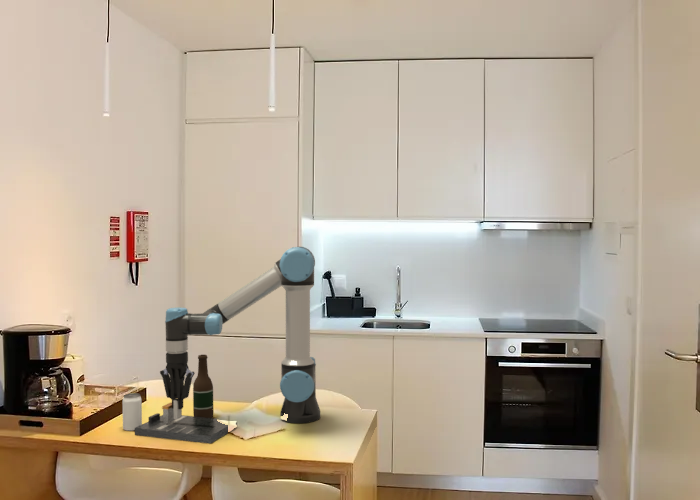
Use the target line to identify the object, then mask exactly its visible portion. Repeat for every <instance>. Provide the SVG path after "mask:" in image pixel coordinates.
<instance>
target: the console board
mask: <svg viewBox="0 0 700 500" xmlns="http://www.w3.org/2000/svg"><path fill="white" fill-rule="evenodd" d="M147 418H148V421H146V422H145V423H142V425H140V426H138V427H136V428H135V431H134V435H135V436H140V437H141V436H142V437H147V438H157V439H167V440H175V441H183V442H193V443H194V442H195V443H202V444H209V445H210V444H213V443H215V442H216V441H218V440H220V439H221V438H222V437H224V436H225V435H228V434H229V433H228V425H225V424H222V423H220V422H218V421H217V419H218V418H215V417H213V418H205V417H195V416H194V415H183V414H182V417H181V418H179V419H176V420H174V421H172V422H170V423H163V414H162V415H161V413H158V412H157V413H154V414H153V415H150V416H148V417H147Z"/></svg>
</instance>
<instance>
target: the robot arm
mask: <svg viewBox="0 0 700 500" xmlns="http://www.w3.org/2000/svg"><path fill="white" fill-rule="evenodd" d="M315 258H316V257H315V256H314V254H313V253H312V251H311V250H310V249H309V248H307V247H304V246H293V247H290V248H288V249H286V250H285V251H284V252H283V254H282V255H281V257H280V259H279V260H277V261H276V262H274V266H273V267H271V268H270V269H268V270H266V271H265V272H263V273H261V274H260V275H259V276H258V277H256V278H254V279H253V280H251V281H250V282H249V283H247V284H245V285H244V286H242V287H241V288H239V289H237V290H236V291H235V292H232V293H231V294H230V295H228V296H227V297H226V298H224V299H223V300H221V301H219V302H218V303H216V304H215V305H213V306H212V307H210V308H208V309H207V310H205V311H204V312H202V313H201V312H200V313H191V312H190V313H189V312H188V308H186V307H170V308H168V309H166V311H165V321H164V324H165V351H166V353H165V363H166V365H165V368H164V369H162V370H160V371H159V373H160V376H161V377H162V381H163V387H164V392H165V396H166V398H169V399H170V400H171V403H172V409H174V419H179V418H181V417H182V415H183V414H182V410H183V408H184V400H186V399H188V398H189V395H190V391H191V386H192V385H191V384H192V381H193V380H192V379H193V377H194V375H195V373H196V372H195V371H191V370H190V369H189V366H188V363H189V352H188V349H189V348H188V347H189V345H188V344H189V343H188V342H189V340H188V339H189V336H194V335H195V336H196V335H197V336H198V335H199V336H200V335H201V336H202V335H203V336H207V335H208V336H213V335H214V336H215V335H220V334H221V333H222V330H223V325H224V324H225V323H227V322H228V321H230V320H231V319H233V318H234V317H236V316H237V315H239V314H240V313H242V312H244V311H245V310H247V309H248V308H249V307H251V306H253V305H255V304H256V303H258V302H259V301H260V300H262V299H263V298H265V297H266V296H268V295H269V294H271V293H273V292H274V291H276V290H278V289H279V288H280V287H283V289H284V291H285V357H284V358H283V360H281V367H280V368H281V370H280V371H281V374H280V375H281V378H280V379H281V380H280V382H279V388H280V392H281V394H282V396H283V397H284V399H283V402H282V405H281V410H280V414H279V415H280V416H283V415H284V413H285V414H288V418H287V422H286V423H291V424H307V423H312V422H316V421H318V420H319V419H320V418H321V409H320V406H319V402H318V400H317V395H316V385H317V384H316V378H317V377H316V376H317V375H316V367H317V363H316V358H314V357H313V356H311V353H310V352H311V289H312V288H313V287H314V286H315V266H316V259H315Z"/></svg>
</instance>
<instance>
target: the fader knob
mask: <svg viewBox="0 0 700 500" xmlns="http://www.w3.org/2000/svg"><path fill="white" fill-rule="evenodd" d="M161 409H162V413H163V414H162V415H163V423H170V422H172V421H174V420H176V419H174V409H172V402H169V403H167V404H165V405H162V407H161Z"/></svg>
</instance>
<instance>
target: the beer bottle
mask: <svg viewBox="0 0 700 500" xmlns="http://www.w3.org/2000/svg"><path fill="white" fill-rule="evenodd" d="M208 358H209V357H208V355H207V354H199V355H198V356H197V359H198V365H197V367H198V368H197V376H196V378H195V380H194V381H193V388H192V401H193V402H192V403H193V404H192V405H193V411H192V412H193V413H192V414H193V416H195V417H205V418H214V385H213V382H212V379H211V378H210V376H209V371H208Z"/></svg>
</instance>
